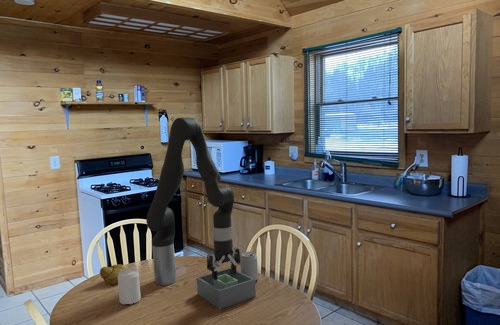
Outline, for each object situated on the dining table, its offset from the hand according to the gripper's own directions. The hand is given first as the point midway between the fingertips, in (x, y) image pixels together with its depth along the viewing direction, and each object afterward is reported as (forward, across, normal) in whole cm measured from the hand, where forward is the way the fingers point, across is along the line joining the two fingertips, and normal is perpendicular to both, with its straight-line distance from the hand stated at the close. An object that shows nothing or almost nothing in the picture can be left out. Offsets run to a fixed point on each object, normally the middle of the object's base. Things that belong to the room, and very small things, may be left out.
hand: (224, 276), depth 159 cm
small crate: (+7, 0, 0) cm, 7 cm away
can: (+8, -16, -6) cm, 19 cm away
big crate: (+8, 0, 0) cm, 8 cm away
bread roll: (+9, +29, -46) cm, 55 cm away
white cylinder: (+8, +32, -21) cm, 39 cm away
